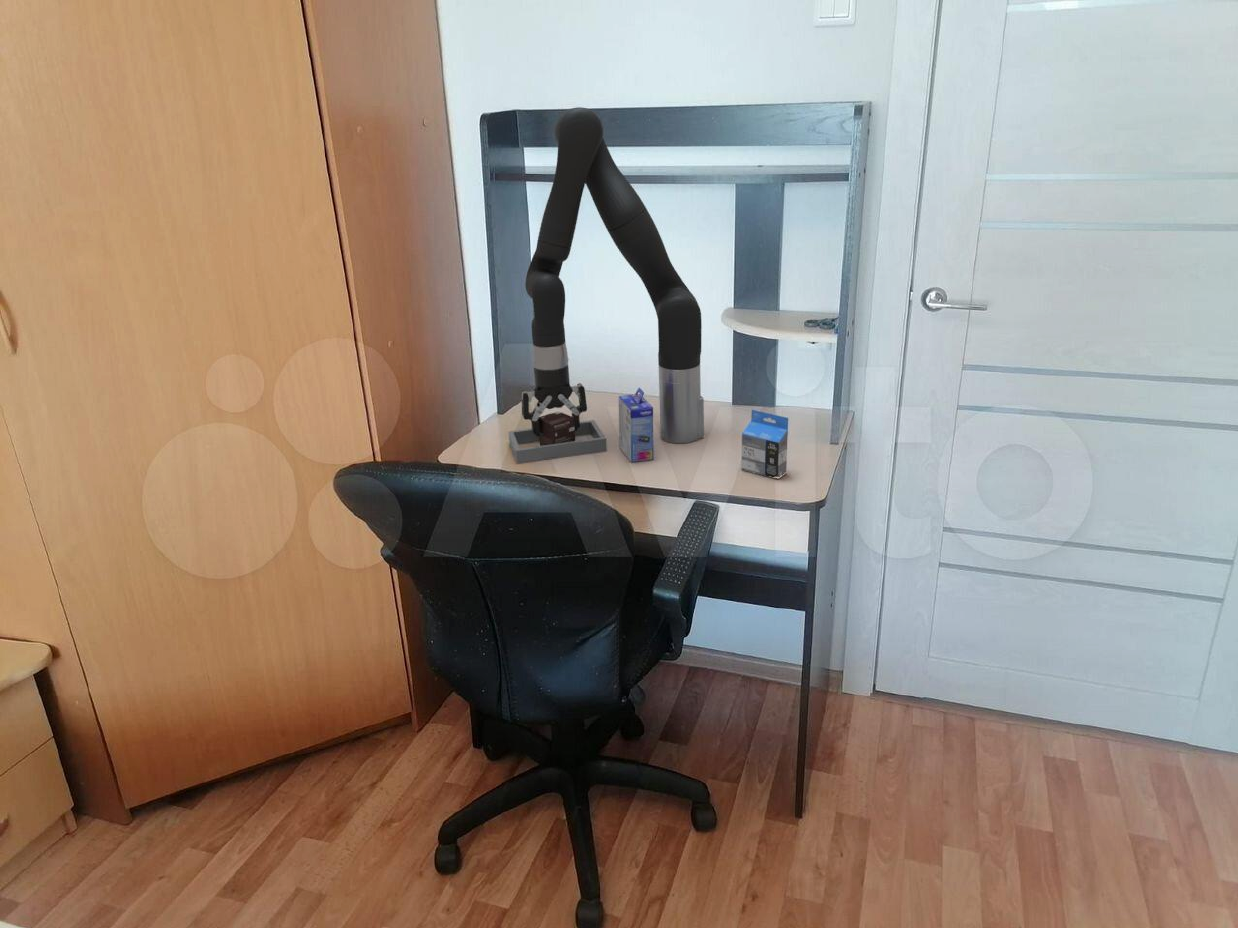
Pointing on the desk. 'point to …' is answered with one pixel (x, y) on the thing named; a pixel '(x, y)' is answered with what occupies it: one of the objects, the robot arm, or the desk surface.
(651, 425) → the ink cartridge box
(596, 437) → the box
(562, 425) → the box
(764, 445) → the ink cartridge pack
